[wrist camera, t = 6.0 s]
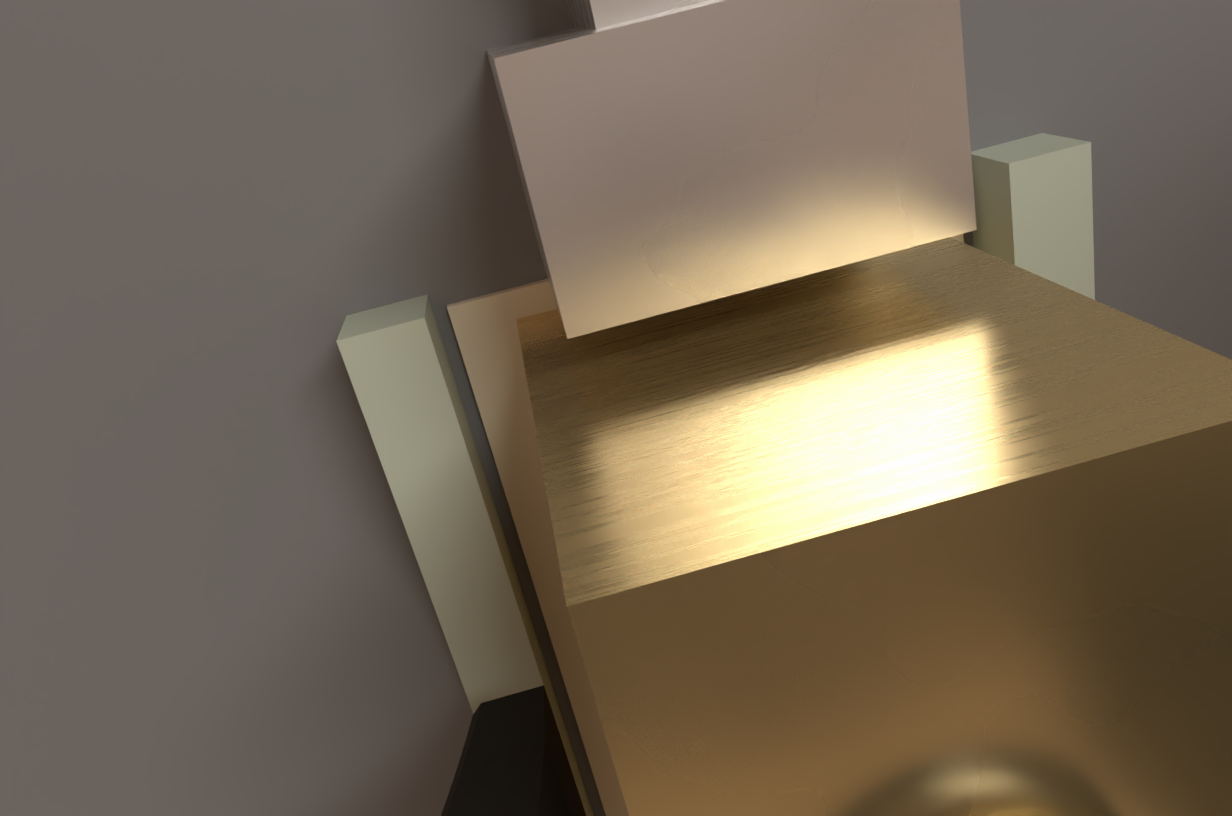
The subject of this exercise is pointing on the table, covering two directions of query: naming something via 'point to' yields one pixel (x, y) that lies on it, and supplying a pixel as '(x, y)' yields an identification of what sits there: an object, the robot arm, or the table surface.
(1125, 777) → the block
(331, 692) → the board
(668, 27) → the shafts
